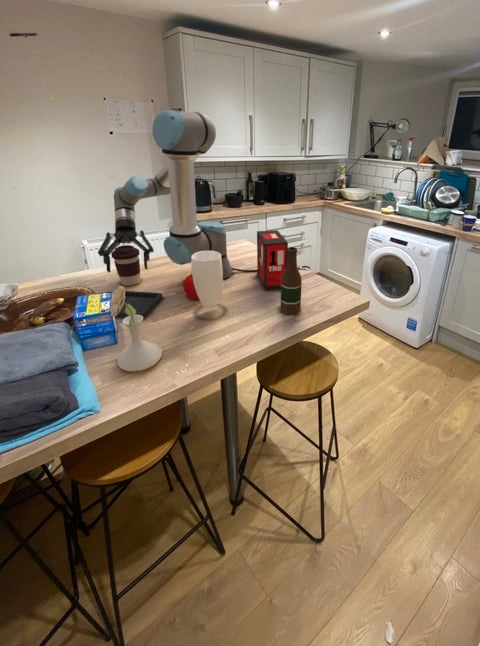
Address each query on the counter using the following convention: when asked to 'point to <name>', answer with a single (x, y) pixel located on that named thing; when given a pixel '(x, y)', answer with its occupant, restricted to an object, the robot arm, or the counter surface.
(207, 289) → the cup
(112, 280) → the counter surface
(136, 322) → the flower in vase
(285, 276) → the beer bottle
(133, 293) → the black square tray
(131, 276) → the coffee cup
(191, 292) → the fruit
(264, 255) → the cleaning product box
